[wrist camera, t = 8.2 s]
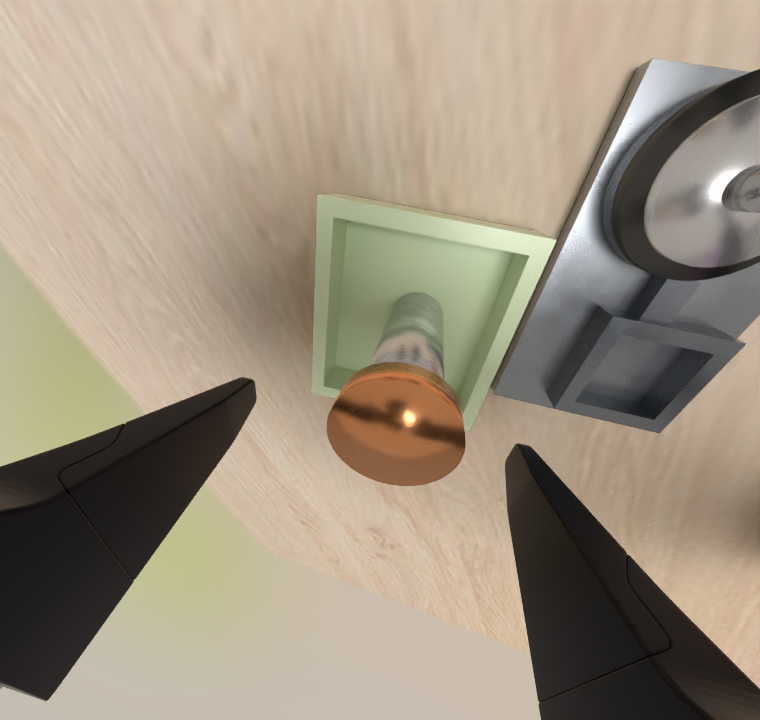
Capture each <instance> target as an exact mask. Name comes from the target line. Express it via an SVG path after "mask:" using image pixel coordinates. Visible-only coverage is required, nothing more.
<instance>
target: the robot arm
mask: <svg viewBox="0 0 760 720" xmlns="http://www.w3.org/2000/svg"><path fill="white" fill-rule="evenodd" d="M255 403H256V388H255V382H254V380H252V379H248V378H244V377H241V378H238V379H236V380H233V381H231V382H228V383H225V384H223V385H220V386H218V387H215V388H213V389H210V390H208V391H205V392H203V393H200V394H197V395H195V396H192V397H190V398H187V399H185V400H182V401H180V402H177V403H175V404H172V405H169V406H167V407H164V408H162V409H159V410H157V411H154V412H152V413H149V414H146V415H144V416H141V417H139V418H136V419H134V420H131V421H129V422H126V424H121V425H118V426H116V427H113V428H111V429H108V430H105V431H103V432H100V433H97V434H95V435H92V436H89V437H87V438H84V439H81V440H78V441H75V442H73V443H70V444H67V445H64V446H61V447H58V448H55V449H52V450H50V451H46V452H43V453H40V454H37V455H34V456H31V457H28V458H25V459H22V460H19V461H16V462H13V463H10V464H7V465H4V466H1V467H0V689H1V688H2V687H6V688H9V689H12V690H15V691H18V692H20V693H23V694H26V695H29V696H32V697H35V698H38V699H41V700H44V701H47V700H48V699H49V698H50V697H51V696H52V694H53V693H54V692H55V691H56V689H57V688H58V687H59V685H60V684H61V683H62V681H63V679H64V678H65V677H66V676H67V674H68V673H69V671H70V670H71V669H72V667H73V666H74V664H75V663H76V661H77V660H78V659H79V657H80V656H81V655H82V653H83V652H84V650H85V649H86V648H87V646H88V645H89V643H90V642H91V641H92V639H93V638H94V636H95V635H96V634H97V632H98V631H99V629H100V628H101V627H102V625H103V624H104V622H105V621H106V620H107V618H108V617H109V616H110V614H111V613H112V611H113V610H114V608H115V607H116V606H117V604H118V603H119V601H120V600H121V599H122V597H123V596H124V594H125V593H126V592H127V590H128V589H129V588H130V586H131V585H132V583H133V580H134V579H136V577H137V576H138V575H139V573H140V572H141V570H142V569H143V568H144V566H145V565H146V563H147V562H148V560H149V559H150V558H151V556H152V555H153V554H154V552H155V551H156V550H157V548H158V547H159V545H160V544H161V542H162V541H163V540H164V538H165V537H166V536H167V534H168V533H169V531H170V530H171V529H172V527H173V526H174V524H175V523H176V522H177V520H178V519H179V517H180V516H181V515H182V513H183V512H184V510H185V509H186V507H187V506H188V505H189V503H190V502H191V501H192V499H193V498H194V496H195V495H196V494H197V492H198V491H199V489H200V488H201V487H202V485H203V484H204V483H205V481H206V480H207V478H208V477H209V476H210V474H211V473H212V471H213V470H214V469H215V467H216V466H217V464H218V463H219V462H220V460H221V459H222V457H223V456H224V455H225V453H226V452H227V450H228V449H229V448H230V446H231V445H232V443H233V442H234V440H235V439H236V437H237V435H238V433H239V432H240V430H241V428H242V426H243V425H244V423H245V421H246V419H247V417H248V416H249V414H250V412H251V410H252V409H253V407H254V405H255ZM505 474H506V494H507V511H508V518H509V525H510V531H511V537H512V543H513V549H514V555H515V561H516V568H517V574H518V580H519V586H520V592H521V598H522V604H523V610H524V617H525V623H526V629H527V635H528V641H529V647H530V653H531V658H532V665H533V672H534V678H535V684H536V690H537V696H538V701H539V702H540V703H539V710H540V716H541V720H760V689H759V688H758V687H757V686H756V685H755V684H754V683H753V682H752V681H751V680H750V679H749V678H748V677H747V676H746V675H745V674H744V673H743V672H742V671H741V670H740V669H739V668H738V667H737V666H736V665H735V664H734V663H733V662H732V661H731V660H730V659H729V658H728V657H727V656H726V655H725V654H724V653H723V652H722V651H721V650H720V649H719V648H718V647H717V646H716V645H715V644H714V643H713V642H712V641H711V640H710V639H709V638H708V637H707V636H706V635H705V634H704V633H703V632H702V631H701V630H700V629H699V628H698V627H697V626H696V625H695V624H694V623H693V622H692V621H691V620H690V619H689V618H688V617H687V616H686V615H685V614H684V613H683V612H682V611H681V610H680V609H679V608H678V607H677V606H676V605H675V604H674V602H673V601H672V600H671V599H670V598H669V597H668V596H667V595H666V594H665V593H664V592H663V591H662V590H661V589H660V588H659V587H658V586H657V585H656V584H655V583H654V582H653V580H652V579H651V578H650V577H649V576H648V575H647V574H646V573H645V572H644V571H643V570H642V569H641V568H640V566H639V565H638V564H637V563H636V562H635V561H634V560H633V559H632V558H631V556H629V555H627V552H626V551H625V550H624V549H623V548H622V547H621V546H620V544H619V543H618V542H617V541H616V540H615V539H614V538H613V537H612V536H611V535H610V533H609V532H608V531H607V530H606V529H605V528H604V527H603V526H602V525H601V524H600V522H599V521H598V520H597V519H596V518H595V517H594V516H593V515H592V514H591V512H590V511H589V510H588V509H587V508H586V507H585V506H584V505H583V504H582V503H581V501H580V500H579V499H578V498H577V497H576V496H575V495H574V494H573V493H572V492H571V490H570V489H569V488H568V487H567V486H566V485H565V484H564V483H563V482H562V481H561V479H560V478H559V477H558V476H557V475H556V474H555V473H554V472H553V471H552V469H551V468H550V467H549V466H548V465H547V464H546V463H545V462H544V461H543V460H542V458H541V457H540V456H539V455H538V454H537V453H536V452H535V451H534V450H533V449H532V448H531V447H530V446H527V445H523V444H516V445H515V446H514V447H513V449H512V451H511V452H510V454H509V456H508V457H507V459H506V463H505Z"/></svg>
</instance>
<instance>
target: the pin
mask: <svg viewBox="0 0 760 720" xmlns="http://www.w3.org/2000/svg"><path fill="white" fill-rule="evenodd" d="M327 434H328V438H329V441H330V444H331V445H332V447H333V449H334V451H335V452H336V454H337V455H338V456H339V457H340V458H341V459H342V461H344V462H345V463H346V464H347V465H348V466H349V467H351V468H352V469H353V470H355V471H357V472H358V473H360V474H362V475H364V476H366V477H368V478H370V479H373V480H375V481H379V482H382V483H386V484H391V485H399V486H415V485H423V484H427V483H431V482H434V481H437V480H439V479H441V478H443V477H445V476H446V475H448V474H449V473H450V472H452V471H453V470H454V469H455V468H456V467H457V465H458V464H459V463H460V461H461V459H462V457H463V454H464V451H465V432H464V421H463V411H462V406H461V403H460V401H459V398H458V396H457V395H456V393H455V391H454V390H453V389H452V388H451V386H450V385H449V384H448V383H447V382H445V381H444V332H443V311H442V308H441V306H440V304H439V303H438V301H437V300H436V299H434V298H433V297H432V296H430V295H428V294H425V293H420V292H414V293H409V294H406V295H404V296H402V297H401V298H400V299H399V300H398V301H397V302H396V303H395V305H394V306H393V309H392V311H391V314H390V316H389V318H388V321H387V323H386V326H385V328H384V331H383V333H382V336H381V338H380V341H379V343H378V346H377V348H376V351H375V353H374V355H373V358H372V360H371V363H370V365H369V366H367V367H365V368H363V369H360V370H359V371H357V372H356V373H354V374H353V375H352V376H351V377H350V378H349V379H348V380H347V381H346V382H345V384H344V385H343V387H342V389H341V391H340V393H339V395H338V397H337V399H336V401H335V403H334V405H333V407H332V409H331V411H330V413H329V416H328V420H327Z"/></svg>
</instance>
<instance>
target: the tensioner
mask: <svg viewBox="0 0 760 720" xmlns="http://www.w3.org/2000/svg"><path fill="white" fill-rule="evenodd" d="M759 314H760V69H759V70H756V71H753V72H745V71H738V70H731V69H723V68H716V67H709V66H702V65H695V64H688V63H681V62H674V61H667V60H660V59H653V58H652V59H651V60H649V61H648V62H646V63H644V64H643V65H641V66H639V67H638V68H637V69H636V71H635V73H634V75H633V77H632V80H631V82H630V84H629V86H628V88H627V91H626V93H625V95H624V97H623V99H622V101H621V104H620V106H619V108H618V110H617V112H616V115H615V117H614V119H613V121H612V123H611V125H610V128H609V130H608V132H607V134H606V136H605V139H604V141H603V143H602V145H601V147H600V149H599V152H598V154H597V156H596V158H595V160H594V163H593V165H592V167H591V169H590V171H589V173H588V176H587V178H586V180H585V182H584V184H583V187H582V189H581V191H580V193H579V195H578V197H577V200H576V202H575V204H574V206H573V208H572V211H571V213H570V215H569V217H568V219H567V221H566V224H565V226H564V228H563V230H562V232H561V235H560V237H559V239H558V241H557V243H556V245H555V248H554V250H553V252H552V254H551V256H550V259H549V261H548V263H547V265H546V267H545V269H544V272H543V274H542V276H541V278H540V280H539V283H538V285H537V287H536V289H535V291H534V293H533V296H532V298H531V300H530V302H529V304H528V307H527V309H526V311H525V313H524V315H523V317H522V320H521V322H520V324H519V326H518V328H517V331H516V333H515V335H514V337H513V339H512V341H511V344H510V346H509V348H508V350H507V352H506V355H505V357H504V359H503V361H502V363H501V365H500V368H499V370H498V372H497V374H496V376H495V379H494V381H493V383H492V385H491V386H492V390H493V394H494V395H498V396H503V397H507V398H511V399H515V400H520V401H524V402H528V403H533V404H537V405H541V406H545V407H550V408H554V409H558V410H562V411H566V412H571V413H575V414H579V415H584V416H588V417H592V418H596V419H601V420H605V421H609V422H613V423H618V424H622V425H626V426H631V427H635V428H639V429H643V430H648V431H652V432H656V433H660V432H661V431H662V430H663V429H664V428H665V427H666V426H667V425H668V424H669V423H670V422H671V421H672V420H673V419H674V418H675V417H676V416H677V415H678V414H679V413H680V412H681V411H682V410H683V409H684V407H685V406H686V405H687V404H688V403H689V402H690V401H691V400H692V399H693V398H694V397H695V396H696V395H697V394H698V393H699V392H700V391H701V390H702V389H703V388H704V387H705V386H706V385H707V384H708V383H709V382H710V381H711V380H712V379H713V378H714V376H715V375H716V374H717V373H718V372H719V371H720V370H721V369H722V368H723V367H724V366H725V365H726V364H727V363H728V362H729V361H730V360H731V359H732V358H733V357H734V356H735V355H736V354H737V353H738V352H739V351H740V350H741V349H742V348H743V347H744V346H745V344H746V343H744V342H742V341H740V340H738V339H737V338H738V337H739V336H740V335H741V334H742V333H743V332H744V330H745V329H746V328H747V327H748V326H749V325H750V324H751V323H752V322H753V321H754V320H755V319H756V318H757V317H758V316H759Z"/></svg>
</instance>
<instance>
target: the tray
mask: <svg viewBox="0 0 760 720" xmlns="http://www.w3.org/2000/svg"><path fill="white" fill-rule="evenodd" d="M556 241H557V240H556V239H554V238H551V237H549V236H547V235H545V234H543V233H540V232H538V231H536V230H530V229H525V228H520V227H514V226H509V225H504V224H499V223H493V222H488V221H483V220H477V219H472V218H467V217H462V216H456V215H451V214H446V213H440V212H435V211H430V210H425V209H419V208H414V207H409V206H403V205H398V204H393V203H387V202H382V201H377V200H372V199H366V198H361V197H356V196H350V195H345V194H340V193H333V194H317V220H316V253H315V286H314V319H313V351H312V384H311V393H314V394H318V395H322V396H326V397H330V398H334V399H337V397H338V395H339V393H340V391H341V389H342V387H343V385H344V384H345V382H346V381H347V380H348V379H349V378H350V377H351V376H352V375H353V374H354V373H356V372H357V371H359V370H360V369H363V368H365V367H367V366H369V365H370V363H371V360H372V358H373V355H374V353H375V351H376V348H377V346H378V343H379V341H380V338H381V336H382V333H383V331H384V328H385V326H386V323H387V321H388V318H389V316H390V314H391V311H392V309H393V306H394V305H395V303H396V302H397V301H398V300H399V299H400V298H401V297H402V296H404V295H406V294H409V293H414V292H420V293H425V294H428V295H430V296H432V297H433V298H434V299H436V300H437V301H438V303H439V304H440V306H441V308H442V311H443V332H444V381H445V382H447V383H448V384H449V385H450V386H451V388H452V389H453V390H454V391H455V393H456V395H457V396H458V398H459V401H460V403H461V406H462V411H463V421H464V430H465V431H469V432H470V429H471V427H472V425H473V423H474V421H475V418H476V416H477V414H478V412H479V410H480V407H481V405H482V403H483V401H484V399H485V396H486V394H487V392H488V390H489V388H490V385H491V383H492V381H493V379H494V377H495V375H496V372H497V370H498V368H499V366H500V364H501V361H502V359H503V357H504V355H505V353H506V350H507V348H508V346H509V344H510V342H511V339H512V337H513V335H514V333H515V331H516V329H517V326H518V324H519V322H520V320H521V318H522V315H523V313H524V311H525V309H526V307H527V304H528V302H529V300H530V298H531V296H532V293H533V291H534V289H535V287H536V285H537V282H538V280H539V278H540V276H541V274H542V272H543V269H544V267H545V265H546V263H547V261H548V258H549V256H550V254H551V252H552V250H553V247H554V245H555V243H556Z"/></svg>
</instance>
